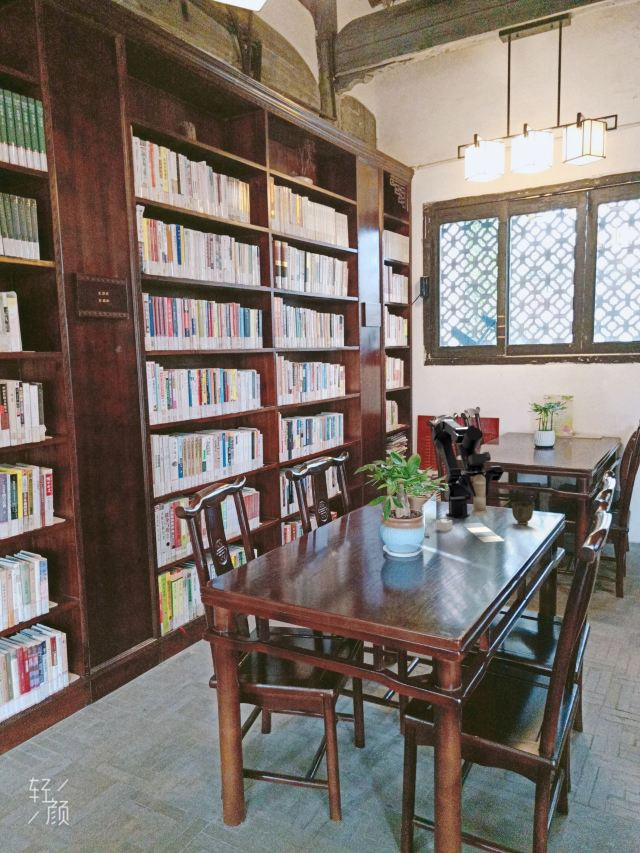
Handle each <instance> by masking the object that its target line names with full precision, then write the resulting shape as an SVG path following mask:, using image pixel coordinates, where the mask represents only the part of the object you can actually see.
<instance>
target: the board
mask: <svg viewBox="0 0 640 853" xmlns="http://www.w3.org/2000/svg"><path fill="white" fill-rule="evenodd" d="M461 525H462V526H463V527H464V528H465V529H467V530H468V531H469V532H470V533H472V534H473V535H474V536H475V537H476V538H478V539H479V540H480V541H481V542H483V543H493V542H505V541H506V540H505V539H504V538H502V537H501V536H499V535H498V534H496V533H495V531H493V530H492V529H490V528H489V527H487V526H486V525H485V524H483V523H482V522H471V523H468V522H467V523H461Z"/></svg>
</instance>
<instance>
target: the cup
mask: <svg viewBox="0 0 640 853" xmlns="http://www.w3.org/2000/svg"><path fill="white" fill-rule="evenodd" d="M534 507H535V502H533V501H532V502H531V503H530V502H529V501H525V500H522V501H521V500H518V501H512V502H511V511H512V516H513V519H514V520H515V521H516V524H517V525H520V526H523V527H527V526H528V525H529V521H531V520H532V517H533V514H534Z"/></svg>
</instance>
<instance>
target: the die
mask: <svg viewBox="0 0 640 853" xmlns="http://www.w3.org/2000/svg"><path fill="white" fill-rule="evenodd" d="M435 530H436V531H441V532H448V531H451V530H453V520H452V519H446V518H445V519H444V518H441V519H439V520H436V521H435Z"/></svg>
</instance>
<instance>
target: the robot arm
mask: <svg viewBox="0 0 640 853" xmlns="http://www.w3.org/2000/svg"><path fill="white" fill-rule="evenodd" d="M483 435H484V433H483V431H482V430H481V429H480V428H477V427H475V425H474V424H469V425H468V426H462V425H460V424H459V423H458V422H456V421H455V419H452V418H451V419H450V418H449V419H446V418H445V419H442V420H440V421H439V423H438V424H437V425H435V426H434V427H433V429H432V432H431V441H433V444H434V446H435V447H436V448H437V449H439V450H440V453H441V456H442V458H443V463H444V465H445V469H446V472H447V473H446V478H445V479H446V483H447V484H448V487H449V491H444V499H445V500H446V501H447V502H448V513H447V512H446V513H445V515H446V516H447V517H452V518H456V519H461V518H465V517H469V516H471V515H470V513H468V502H467V501H471V498H472V497H475V491H474V488H473V481H472V480H471V478H474V477H475V476H476V475H479V474H480V475H483V476H484V477H485V479H486V497H488V496H489V488H490V487H489V486H490V483H491V482H497V481H500V480H501V479H502V477H503V475H504V473H505V471H504V468H503V467H502V466H501V465H490V466H489V469H488V470H485V469H484V468H485V464H487V463H489V462H491V460H492V457H491V454H490V452H489V451H484V452H482V453H478V451H477V449H478V448H479V446H480V443H481V441H482V439H483ZM453 443H454V444H455V445H459V446H458V448H457V449H458V452H457V454H458V455H459V456H460V459H461V462H462V463H461V466H462V468H463V469H464V470H462V469H461V468H460V466H459V463H458V460H457V456H456V454H455V450H454V447H453ZM483 469H484V470H483Z"/></svg>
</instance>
